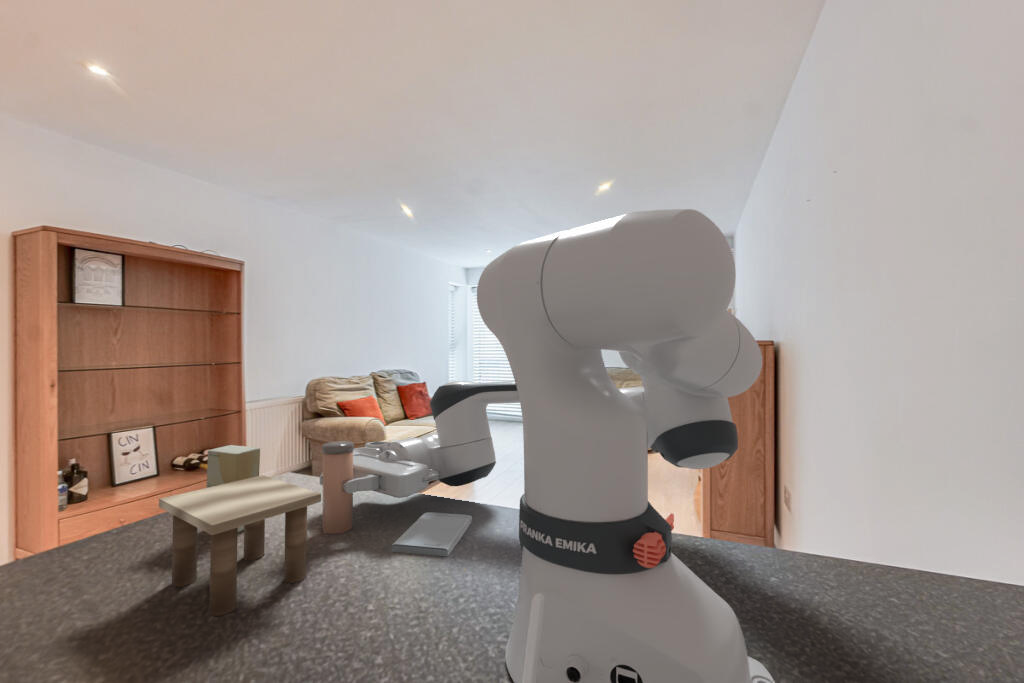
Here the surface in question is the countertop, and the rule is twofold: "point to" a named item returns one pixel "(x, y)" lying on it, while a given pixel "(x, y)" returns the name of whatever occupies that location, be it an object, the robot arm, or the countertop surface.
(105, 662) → the countertop surface
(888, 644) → the countertop surface
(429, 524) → the hard drive
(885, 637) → the countertop surface
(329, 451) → the spice jar
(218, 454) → the skincare box
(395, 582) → the countertop surface
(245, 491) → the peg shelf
